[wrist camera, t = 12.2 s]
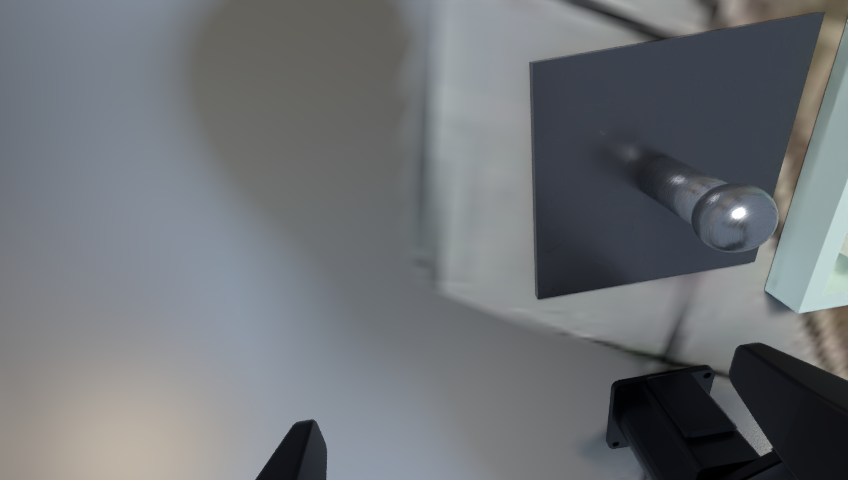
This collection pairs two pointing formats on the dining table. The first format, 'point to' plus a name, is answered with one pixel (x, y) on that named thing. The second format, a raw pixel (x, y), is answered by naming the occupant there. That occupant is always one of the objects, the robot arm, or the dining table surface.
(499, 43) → the dining table surface
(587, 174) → the peg stand
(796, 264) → the tray
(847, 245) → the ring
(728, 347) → the dining table surface
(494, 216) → the dining table surface
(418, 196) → the dining table surface
